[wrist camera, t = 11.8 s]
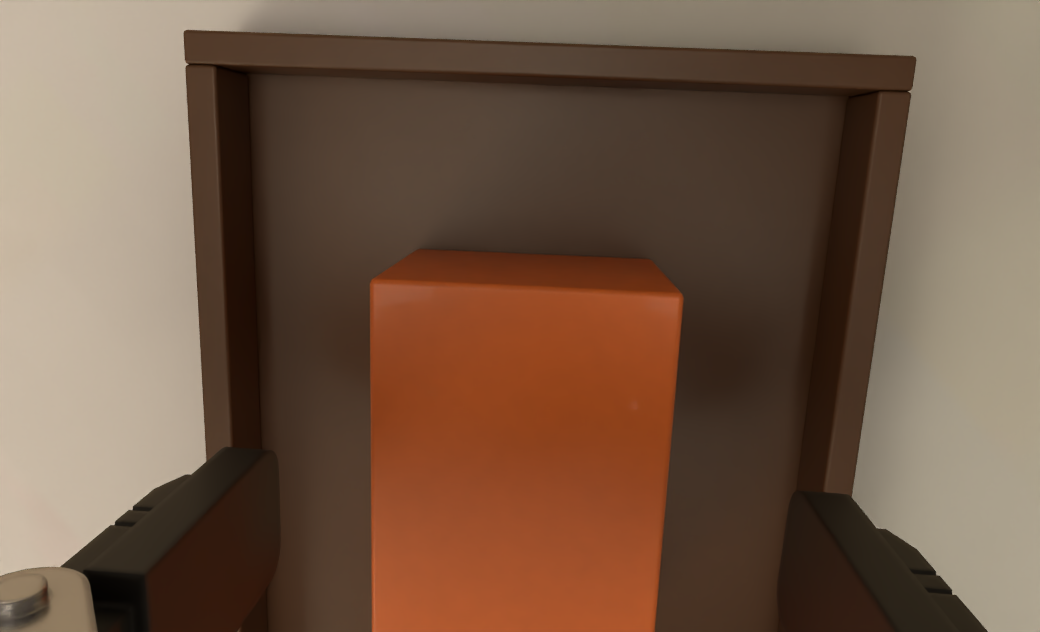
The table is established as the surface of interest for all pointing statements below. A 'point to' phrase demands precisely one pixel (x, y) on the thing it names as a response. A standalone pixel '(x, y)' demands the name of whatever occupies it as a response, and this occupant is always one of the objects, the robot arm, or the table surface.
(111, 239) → the table surface
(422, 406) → the block
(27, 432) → the table surface
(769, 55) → the tray
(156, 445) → the table surface
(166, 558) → the robot arm
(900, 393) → the table surface
